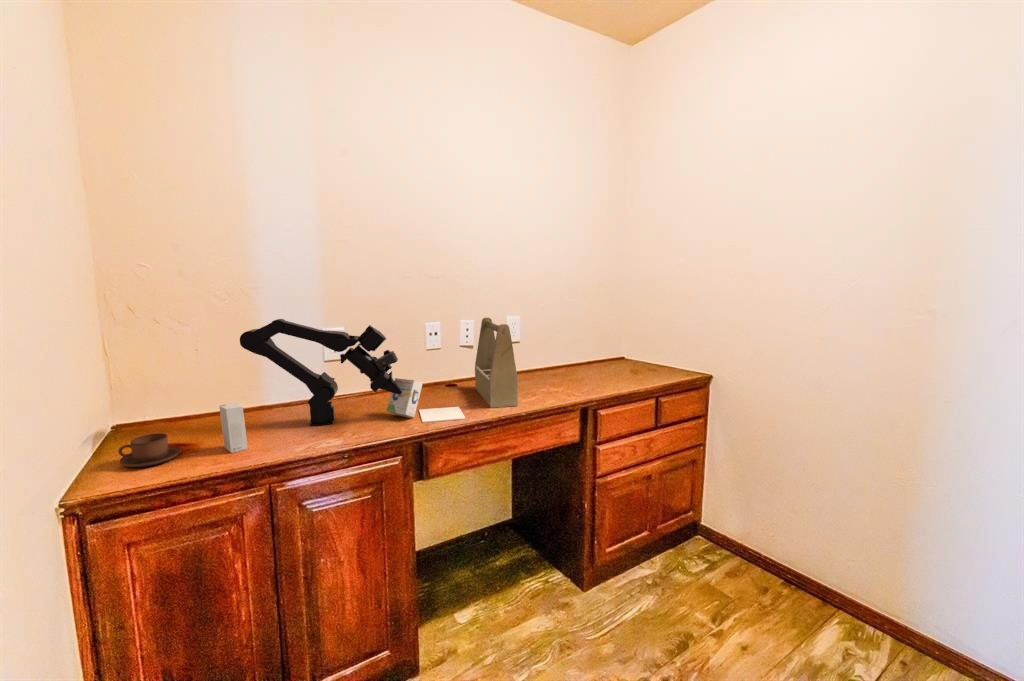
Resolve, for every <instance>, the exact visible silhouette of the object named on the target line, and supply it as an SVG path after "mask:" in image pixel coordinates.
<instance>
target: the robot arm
mask: <svg viewBox="0 0 1024 681" xmlns="http://www.w3.org/2000/svg"><path fill="white" fill-rule="evenodd" d="M278 334H283V335H286V336H291V337H294V338H299V339H303V340H306V341H310V342H314V343H317V344H320V345H322V346H323V347H325V348H327V349H330V350H332V351H334V352H337V353H341V354H340V355H339V357H340V364H344V363H345V361H346V360H347V361H348V362H350V363H351V364H352V365H353V366H354V367H356V368H357V369H358V371H359V373H361V374H362V375H363V374H364V375H365V376H366V377H367V378H369V381H370V385H369V386H370V389H371V390H372V391H373V392H374V393H376V392H378V390H382V391H386V392H390V393H391V392H392V393H396V394H399V395H400V394H401V393H402V391H401V390H400V388H399V387H398V385H397V384H396V383H395V379H394V378H393V370H391V369H392V367H393V366H391V365H392V364H396V363H397V362H398V360H399V359H398V357H397V355H396V353H395V351H394V350H392V351H390V350H389V349H386V350H385V351H383V355H381V356H380V357H377V356H372V355H371V354H370V353H371V352H375V351H376V350H377V349H378V348H379V347H380V346H381V345H382V344H383V343H384V342H385V341H386V340H387V337H386V336H385V335H384V334H383V333H382V332H381V331H380V330H378V329H377V328H376V327H373V326H372V325H371V324H369V325H368V326H367V327H366V328H365V330H364V331H363V332H362V333H361V334H360V335H352V334H351V335H350V334H349V333H347V332H346V331H341V330H339V331H338V330H326V329H325V330H324V329H323V330H322V329H318V328H315V327H311V326H307V325H304V324H300V323H295V322H291V321H288V320H285V319H284V318H278V319H277V318H276V319H273V320H272V321H271V322H269V323H268V324H266V325H264V326H262V327H259V328H253V329H250V330H247V331H245V332H243V333H242V334H241V335H240V336H239V345H240V346H241V347H242V349H245V350H247V351H249V352H251V353H253V354H256V355H259V356H261V357H265V358H267V359H268V360H269V361H271V362H272V363H274V364H275V365H277V366H278V367H279V368H281V369H283V370H284V371H286V373H289V374H290V376H293V377H294V378H295V379H297V380H299V381H300V382H301V383H303V384H304V385H305V386H306V387H307V389H308V390H309V391H310V393H311V394H312V396H311V397H310V399H308V401H307V403H308V405H309V412H310V414H309V415H310V423H309V426H310V427H313V426H324V425H327V426H328V425H332V424H333V422H334V421H335V418H336V417H335V406H333V402H332V401H331V400H332V399H333V398H334V397H335V395H336V393H337V392H338V390H339V386H338V383H337V382H336V381H335V380H336V378H334V377H331V376H330V375H329V374H328V373H326V371H323V372H322V373H321V374H319V373H316V372H314V371H312V370H311V369H309V368H308V367H307V366H305V364H303V363H301V362H300V361H298V360H297V359H296V358H294V357H292V356H291V355H290V354H288V353H287V352H285V351H284V350H283V349H281V348H280V347H278V345H276V343H275V342H274V340H273V339H272V337H274V336H276V335H278ZM357 343H358V344H357ZM355 345H356V347H355V348H353V347H354V346H355ZM348 348H349V349H348ZM346 350H347V351H346ZM344 351H346V352H345V353H342V352H344ZM369 352H370V353H369ZM389 370H391V371H390V372H389ZM388 372H389V373H388Z"/></svg>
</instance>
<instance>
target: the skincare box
mask: <svg viewBox="0 0 1024 681" xmlns="http://www.w3.org/2000/svg"><path fill="white" fill-rule="evenodd" d="M219 414H220V415H219V416H220V423H221V430H222V437H223V438H222V439H223V445H224V449H226V450H227V451H229V453H231V454H232V453H237V452H238V453H239V452H242V451H245V450H246V451H247V450H248V440H247V439H248V438H247V432H246V431H247V430H246V424H245V423H246V422H245V415H244V406H242V405H240V404H238V402H233V403H227V404H222V405H219Z"/></svg>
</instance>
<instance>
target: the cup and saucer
mask: <svg viewBox="0 0 1024 681" xmlns="http://www.w3.org/2000/svg"><path fill="white" fill-rule="evenodd" d="M125 448H130V450H131V452H129V453H123V449H125ZM180 452H181V449H180V447H179V446H176V445H175V446H174V445H169V440H168V434H165V433H151V434H145V435H141V436H137V437H134V438H133V439H131V440H130V444H123V445H121V446H120V447H119V448H118V454H119V456H121V458H120V460H119V461H120V462H119V463H120V464H122V465H123V466H125V467H128V468H143V467H151V466H156V465H159V464H163V463H166V462H169V461H170V460H173V459H174V458H175V457H177V456H178V455H179V453H180Z"/></svg>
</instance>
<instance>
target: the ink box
mask: <svg viewBox="0 0 1024 681" xmlns="http://www.w3.org/2000/svg"><path fill="white" fill-rule="evenodd" d="M394 381H395V383H396V384H397V385H398V387H399V388H400V390H401V391H402V393H401V394H400V395H399V394H396V393H392V392H390V396H389V401H388V405H387V408H386V412H387V413H390V414H393V415H396V416H402V417H406V418H407V417H408V418H415V416H416V412H417V409H418V404H419V400H420V396H421V392H422V388H423V383H422V382H419V381H417V380H415V379H407V378H405V379H404V378H398V377H395V378H394Z"/></svg>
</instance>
